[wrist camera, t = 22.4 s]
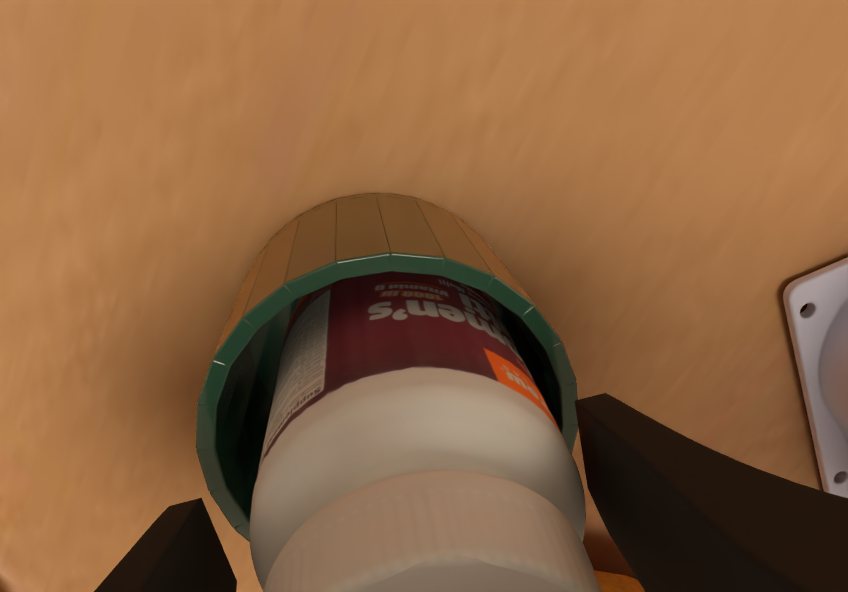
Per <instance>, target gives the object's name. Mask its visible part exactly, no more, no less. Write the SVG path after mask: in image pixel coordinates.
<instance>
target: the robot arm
mask: <svg viewBox="0 0 848 592" xmlns="http://www.w3.org/2000/svg"><path fill="white" fill-rule="evenodd" d="M783 301H784V306H785V311H786V315H787V320H788V325H789V330H790V334H791V339H792V344H793V348H794V353H795V358H796V363H797V367H798V372H799V377H800V381H801V386H802V391H803V396H804V400H805V405H806V410H807V414H808V419H809V424H810V429H811V433H812V438H813V443H814V448H815V452H816V457H817V462H818V466H819V471H820V476H821V481H822V485H823V490H824V491H820V490H817V489H814V488H811V487H808V486H804V485H801V484H798V483H795V482H792V481H789V480H787V479H784V478H781V477H778V476H776V475H773V474H770V473H767V472H765V471H762V470H759V469H756V468H754V467H751V466H749V465H746V464H744V463H741V462H739V461H737V460H734V459H732V458H730V457H728V456H726V455H723V454H721V453H719V452H717V451H714V450H712V449H710V448H708V447H706V446H703V445H701V444H699V443H697V442H695V441H693V440H691V439H689V438H687V437H685V436H683V435H681V434H679V433H677V432H675V431H674V430H672V429H670V428H668V427H666V426H664V425H662V424H660V423H659V422H657V421H655V420H653V419H651V418H649V417H648V416H646V415H644V414H642V413H640V412H639V411H637V410H635V409H633V408H632V407H630V406H628V405H626V404H625V403H623V402H621V401H619V400H618V399H616V398H614V397H612V396H610V395H608V394H606V393H603V394H599V395H595V396H592V397H588V398H584V399H580V400H576V401H574V402H575V408H576V415H577V421H578V428H579V434H580V441H581V447H582V454H583V460H584V467H585V473H586V479H587V486H588V489H589V492H590V494H591V496H592V498H593V500H594V503H595V505H596V507H597V509H598V511H599V514H600V516H601V518H602V520H603V522H604V524H605V526H606V528H607V530H608V532H609V534H610V536H611V538H612V539H613V541H614V543H615V544H616V546H617V547H618V549H619V551H620V552H621V554H622V555H623V557H624V559H625V560H626V562H627V564H628V565H629V567H630V568H631V570H632V572H633V573H634V575H635V576H636V578H637V579H638V581H639V583H640V584H641V586H642V587H643V589H644V591H645V592H848V257H847V258H845V259H842V260H840V261H838V262H835V263H833V264H831V265H828V266H826V267H824V268H821V269H819V270H817V271H814V272H812V273H810V274H807V275H805V276H803V277H800V278H798V279H796V280H794V281H792V282H791V283H789V285H788V286H787V287H786V288H785V291H784V293H783ZM806 303H807V308H806V309H805V311H803V312H802V313H800V309H801V308H802V306H803V305H805V304H806ZM837 473H838V474H837ZM836 474H837V475H836ZM835 475H836V476H835ZM236 586H237V580H236V578H235V576H234V573H233V571H232V569H231V566H230V564H229V561H228V559H227V557H226V554H225V552H224V550H223V547H222V545H221V543H220V540H219V538H218V536H217V533H216V531H215V529H214V526H213V524H212V522H211V519H210V517H209V514H208V512H207V510H206V507H205V505H204V503H203V500H202V498H199V499H195V500H191V501H187V502H184V503H180V504H176V505H172V506H169V507H168V508H167V509H166V510H165V511H164V512H163V513H162V514H161V515H160V516H159V517H158V519H157V520H156V521H155V522H154V523H153V524H152V525H151V526H150V528H149V529H148V530H147V531H146V532H145V533H144V534H143V536H142V537H141V538H140V539H139V540H138V541H137V543H136V544H135V545H134V546H133V547H132V548H131V550H130V551H129V552H128V553H127V554H126V555H125V557H124V558H123V559H122V560H121V561H120V562H119V564H118V565H117V566H116V567H115V568H114V569H113V570H112V572H111V573H110V574H109V575H108V576H107V577H106V578H105V580H104V581H103V582H102V583H101V584H100V585H99V587H98V588H97V589H96V590H95V591H94V592H236Z"/></svg>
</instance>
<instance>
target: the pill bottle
mask: <svg viewBox="0 0 848 592" xmlns="http://www.w3.org/2000/svg"><path fill="white" fill-rule="evenodd" d="M585 519H586V512H585V498H584V490H583V486H582V482H581V478H580V474H579V471H578V468H577V465H576V463H575V461H574V458H573V456H572V454H571V452H570V450H569V448H568V446H567V444H566V442H565V440H564V438H563V436H562V434H561V432H560V430H559V428H558V426H557V424H556V422H555V420H554V418H553V416H552V414H551V413H550V411H549V409H548V406H547V404H546V402H545V400H544V399H543V397H542V395H541V393H540V391H539V389H538V388H537V386H536V384H535V382H534V380H533V378H532V376H531V374H530V372H529V371H528V368H527V366H526V364H525V363H524V361H523V359H522V357H521V356H520V354H519V352H518V350H517V348H516V346H515V344H514V342H513V340H512V338H511V336H510V335H509V333H508V331H507V329H506V328H505V326H504V324H503V322H502V320H501V319H500V317H499V315H498V313H497V311H496V310H495V308H494V306H493V304H492V303H491V301H490V299H489V298H488V296H487V295H486V293H485V292H484V291H481V290H478V289H475V288H473V287H470V286H467V285H464V284H462V283H459V282H456V281H453V280H450V279H448V278H445V277H442V276H438V275H426V274H415V273H403V272H392V271H390V272H384V273H378V274H372V275H366V276H360V277H354V278H347V279H341V280H339V281H337V282H335V283H332V284H330V285H328V286H325V287H323V288H321V289H319V290H316V291H314V292H312V293H309V294H307V295H305V296H302V297H300V299H299V300H298V302H297V304H296V306H295V308H294V311H293V313H292V315H291V318H290V321H289V324H288V328H287V331H286V336H285V340H284V344H283V349H282V354H281V358H280V365H279V370H278V375H277V380H276V386H275V391H274V396H273V401H272V406H271V410H270V415H269V420H268V425H267V430H266V435H265V440H264V445H263V450H262V454H261V459H260V464H259V469H258V474H257V479H256V482H255V485H254V490H253V496H252V508H251V514H250V531H249V536H250V548H251V555H252V560H253V564H254V568H255V571H256V574H257V577H258V580H259V582H260V585H261V587H262V589H263V592H602V590H601V587H600V585H599V583H598V581H597V579H596V576H595V573H594V569H593V566H592V564H591V561H590V559H589V556H588V554H587V551H586V549H585V547H584V545H583V543H582V542H583V538H584V532H585Z"/></svg>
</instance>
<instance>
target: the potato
mask: <svg viewBox="0 0 848 592" xmlns="http://www.w3.org/2000/svg"><path fill="white" fill-rule="evenodd" d="M594 573H595V576H596V579H597V581H598V583H599V585H600V587H601V590H602V592H645V591H644V589H643V587H642V586H641V584H640V583H639V581H638V580H636V579H634V578H631V577H629V576H626V575H620V574H614V573H608V572H602V571H596V570H594Z"/></svg>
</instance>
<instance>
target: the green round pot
mask: <svg viewBox="0 0 848 592" xmlns="http://www.w3.org/2000/svg"><path fill="white" fill-rule="evenodd" d="M390 271H392V272H403V273H415V274H426V275H438V276H442V277H445V278H448V279H450V280H453V281H456V282H459V283H462V284H464V285H467V286H470V287H473V288H475V289H478V290H481V291H484V292H485V293H486V295H487V296H488V298H489V299H490V301H491V303H492V304H493V306H494V308H495V310H496V311H497V313H498V315H499V317H500V319H501V320H502V322H503V324H504V326H505V328H506V329H507V331H508V333H509V335H510V336H511V338H512V340H513V342H514V344H515V346H516V348H517V350H518V352H519V354H520V356H521V357H522V359H523V361H524V363H525V364H526V366H527V368H528V371H529V372H530V374H531V376H532V378H533V380H534V382H535V384H536V386H537V388H538V389H539V391H540V393H541V395H542V397H543V399H544V400H545V402H546V404H547V406H548V409H549V411H550V413H551V414H552V416H553V418H554V420H555V422H556V424H557V426H558V428H559V430H560V432H561V434H562V436H563V438H564V440H565V442H566V444H567V446H568V448H569V450H570V452H571V454H572V452H573V447H574V443H575V439H576V435H577V431H578V421H577V415H576V408H575V402H574V401H576V400H578V393H577V382H576V377H575V375H574V372H573V369H572V366H571V364H570V361H569V358H568V356H567V353H566V350H565V347H564V345H563V342H562V341H561V338H560V337H559V336H558V334H557V333H556V332H555V331H554V329H553V328H552V327H551V325H550V324H549V323H548V321H547V320H546V319H545V317H544V316H543V315H542V313H541V312H540V311H539V310H538V308H537V307H536V306H535V304H534V303H533V302H532V301H531V299H530V298H529V297H528V295H527V294H526V293H525V292H524V290H523V289H522V288H521V286H520V285H519V284H518V283H517V281H516V280H515V279H514V278H513V276H512V275H511V274H510V272H509V271H508V270H507V269H506V267H505V266H504V265H503V263H502V262H501V261H500V260H499V258H498V257H497V256H496V254H495V253H494V252H493V251H492V249H491V248H490V247H489V246H488V244H487V243H486V242H485V240H484V239H483V238H482V237H481V236H480V235H479V234H478V233H477V232H476V231H475V230H473V229H472V228H471V227H470V226H469V225H468V224H466V223H465V222H464V221H463V220H461V219H460V218H458V217H457V216H455V215H454V214H452V213H451V212H449V211H447V210H445V209H443V208H441V207H439V206H437V205H434V204H432V203H430V202H427V201H423V200H420V199H417V198H414V197H409V196H403V195H397V194H383V193H371V194H360V195H353V196H348V197H344V198H339V199H336V200H333V201H330V202H327V203H325V204H322V205H319V206H317V207H315V208H313V209H311V210H309V211H307V212H305V213H303V214H302V215H300V216H299V217H297V218H296V219H294V220H293V221H292V222H290V223H289V224H287V225H286V226H285V227H284V228H283V229H282V230H280V231H279V232H278V233H277V234H276V235H275V236H274V237H273V238H272V239H271V240H270V241H269V243H268V244H267V245H266V246H265V248H264V249H263V250H262V251H261V252H260V254H259V256H258V257H257V259H256V261H255V262H254V264H253V266H252V267H251V269H250V270H249V272H248V274H247V276H246V278H245V280H244V283H243V285H242V288H241V290H240V292H239V295H238V297H237V300H236V302H235V305H234V307H233V309H232V312H231V314H230V317H229V319H228V321H227V324H226V326H225V329H224V331H223V333H222V336H221V338H220V341H219V343H218V345H217V348H216V350H215V353H214V355H213V358H212V360H211V363H210V366H209V369H208V372H207V375H206V378H205V381H204V384H203V386H202V389H201V392H200V395H199V398H198V401H197V402H198V404H197V419H196V448H197V454H198V458H199V461H200V464H201V467H202V471H203V474H204V477H205V481H206V484H207V487H208V490H209V491H210V494H211V496H212V497H213V499H214V500H215V502H216V503H217V505H218V506H219V508H220V509H221V511H222V512H223V514H224V515H225V517H226V518H227V520H228V521H229V523H230V524H231V526H232V527H233V528H234V529H235V530H236V531H237V532H238V533H239V534H241V535H242V536H243V537H244V538H245V539H246V540H248V541H249V542H250V536H249V531H250V514H251V508H252V496H253V490H254V485H255V482H256V479H257V474H258V469H259V464H260V459H261V454H262V450H263V445H264V440H265V435H266V430H267V425H268V420H269V415H270V410H271V406H272V401H273V396H274V391H275V386H276V380H277V375H278V370H279V365H280V358H281V354H282V349H283V344H284V340H285V336H286V331H287V328H288V324H289V321H290V318H291V315H292V313H293V311H294V308H295V306H296V304H297V302H298V300H299V299H300V297H302V296H305V295H307V294H309V293H312V292H314V291H316V290H319V289H321V288H323V287H325V286H328V285H330V284H332V283H335V282H337V281H339V280H341V279H347V278H354V277H360V276H366V275H372V274H378V273H384V272H390Z"/></svg>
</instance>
